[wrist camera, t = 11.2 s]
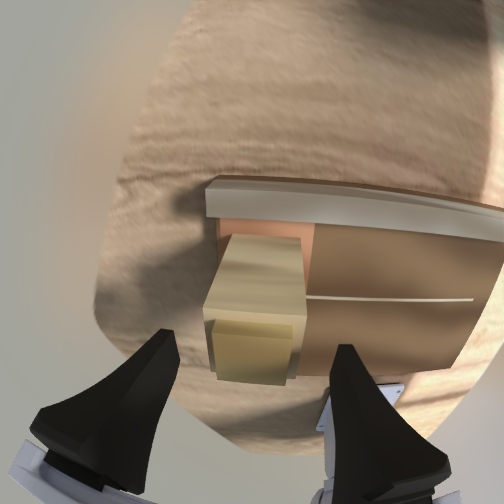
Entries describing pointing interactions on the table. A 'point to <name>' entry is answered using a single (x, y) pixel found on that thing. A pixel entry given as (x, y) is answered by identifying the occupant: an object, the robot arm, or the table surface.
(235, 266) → the tan block
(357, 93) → the table surface
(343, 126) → the table surface
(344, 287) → the board
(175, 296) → the table surface
